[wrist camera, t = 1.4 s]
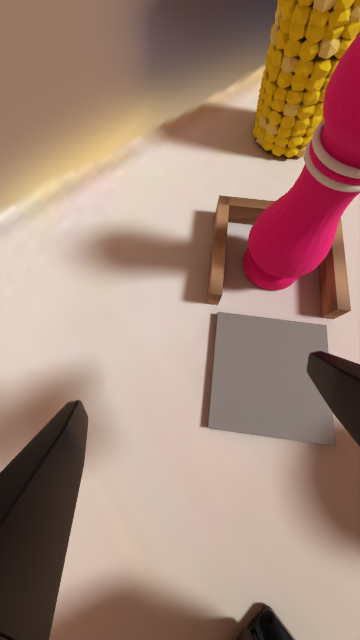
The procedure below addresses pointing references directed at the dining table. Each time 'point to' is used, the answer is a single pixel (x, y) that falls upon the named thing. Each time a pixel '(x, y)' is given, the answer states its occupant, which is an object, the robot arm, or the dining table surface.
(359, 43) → the pepper mill
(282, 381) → the rubber mat
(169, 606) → the dining table surface
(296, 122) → the food
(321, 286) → the frame
